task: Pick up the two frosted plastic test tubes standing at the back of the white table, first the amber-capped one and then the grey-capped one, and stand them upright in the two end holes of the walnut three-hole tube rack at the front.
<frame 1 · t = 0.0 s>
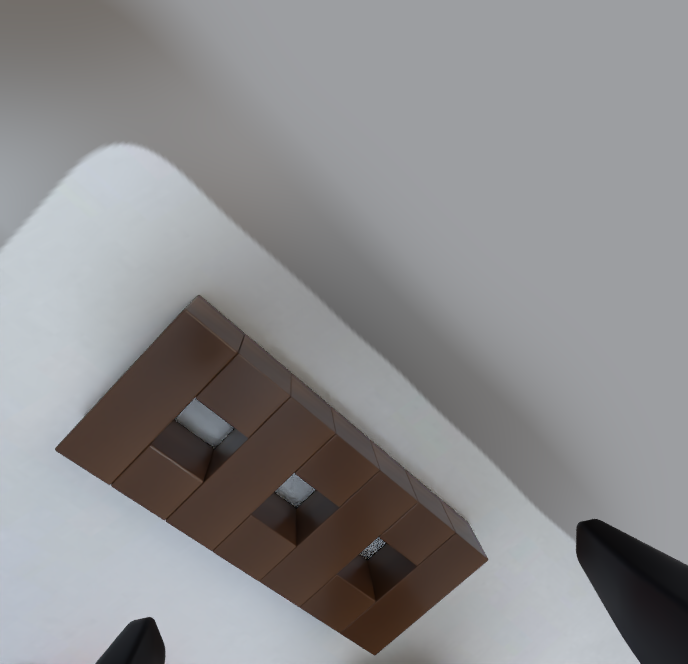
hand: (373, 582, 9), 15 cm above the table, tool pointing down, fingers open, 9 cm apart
rack: (295, 475, 25), on the table
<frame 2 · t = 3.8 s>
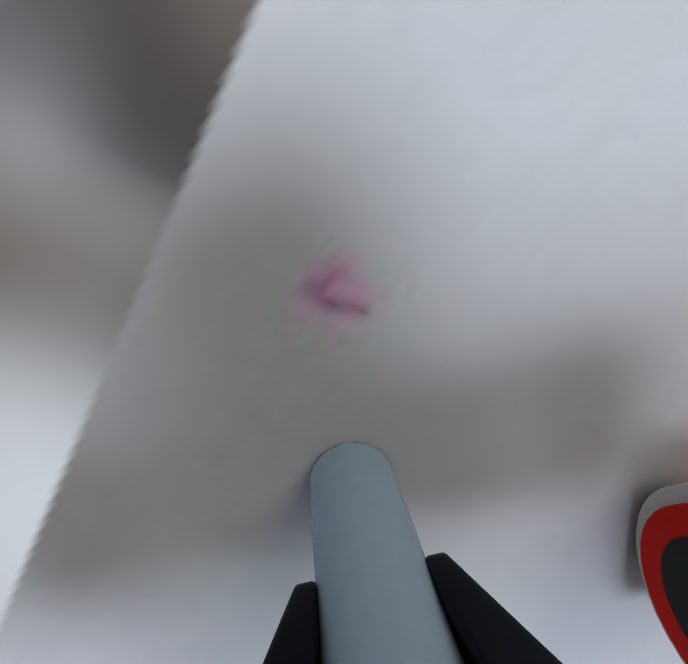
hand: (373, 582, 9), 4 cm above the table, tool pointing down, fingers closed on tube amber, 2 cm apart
tube amber: (351, 478, 12), on the table, touching gripper
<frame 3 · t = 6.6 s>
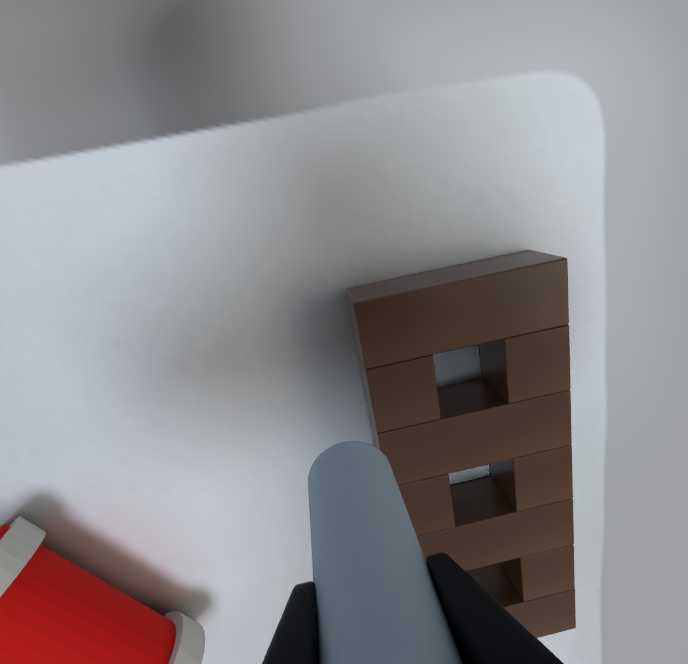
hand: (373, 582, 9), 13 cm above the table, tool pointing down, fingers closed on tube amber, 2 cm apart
rack: (460, 458, 24), on the table
toy hammer: (36, 647, 25), on the table
tube amber: (350, 477, 12), point 9 cm above the table, touching gripper
when the fingers open (3 cm above the table, at t = 9.5 s): tube amber stays where it is, resting in rack.
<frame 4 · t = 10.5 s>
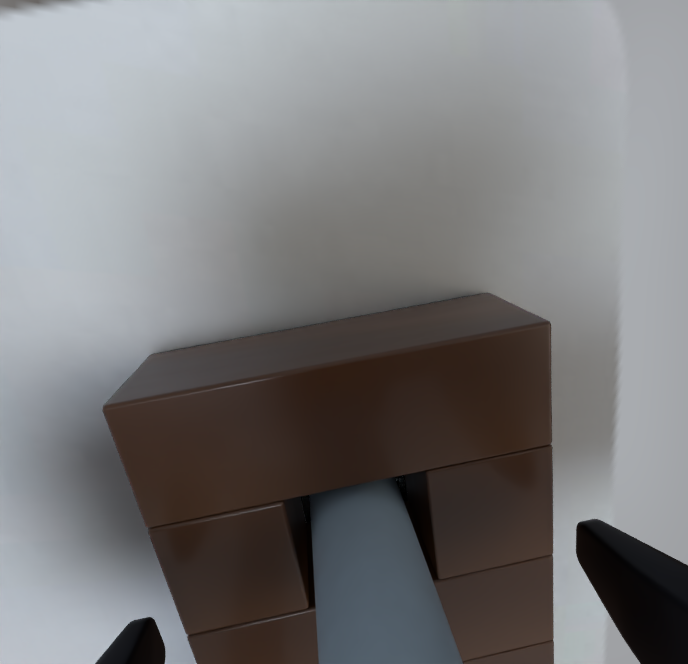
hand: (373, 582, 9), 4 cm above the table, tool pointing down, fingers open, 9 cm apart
rack: (376, 618, 15), on the table
tube amber: (348, 466, 13), resting in rack
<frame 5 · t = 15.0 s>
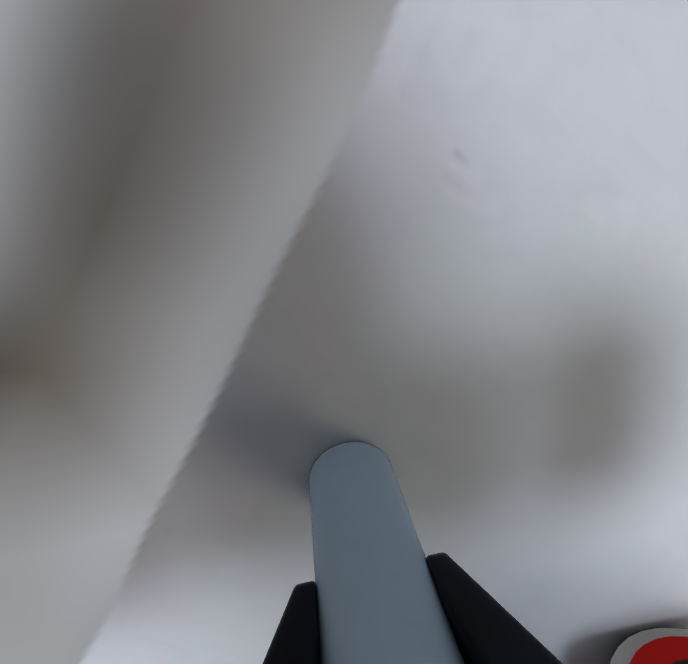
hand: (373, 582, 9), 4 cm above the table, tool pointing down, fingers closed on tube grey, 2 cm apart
tube grey: (351, 477, 12), on the table, touching gripper
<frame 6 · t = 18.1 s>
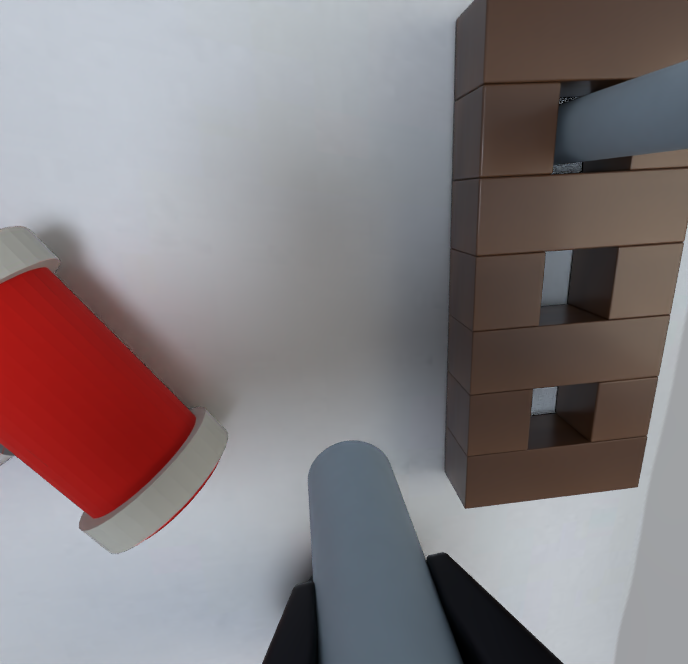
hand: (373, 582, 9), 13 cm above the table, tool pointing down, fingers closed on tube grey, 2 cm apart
rack: (539, 275, 21), on the table
tube grey: (350, 476, 12), point 9 cm above the table, touching gripper
toy hammer: (17, 436, 21), on the table
tube amber: (551, 137, 19), resting in rack
when the fingers open (3 cm above the table, at t = 21.3 s): tube grey stays where it is, resting in rack.
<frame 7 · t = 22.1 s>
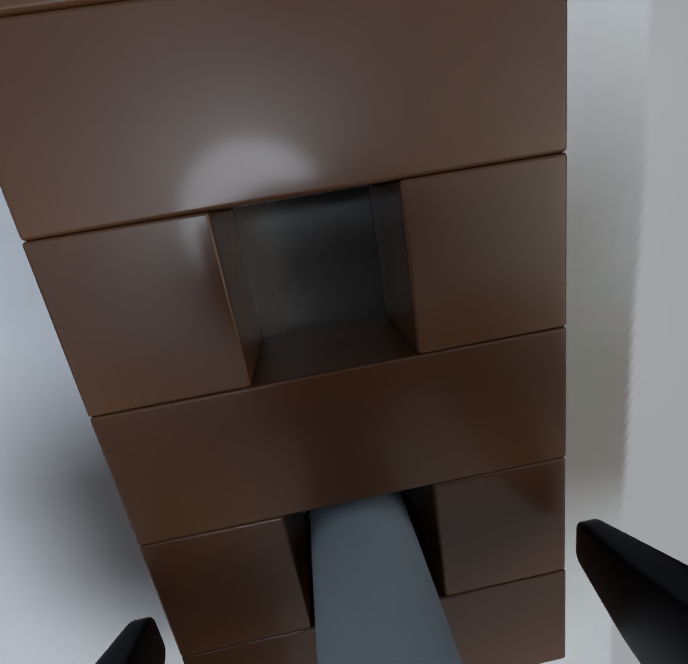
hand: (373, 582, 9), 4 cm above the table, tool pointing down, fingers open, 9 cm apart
rack: (313, 264, 10), on the table
tube grey: (349, 474, 12), resting in rack
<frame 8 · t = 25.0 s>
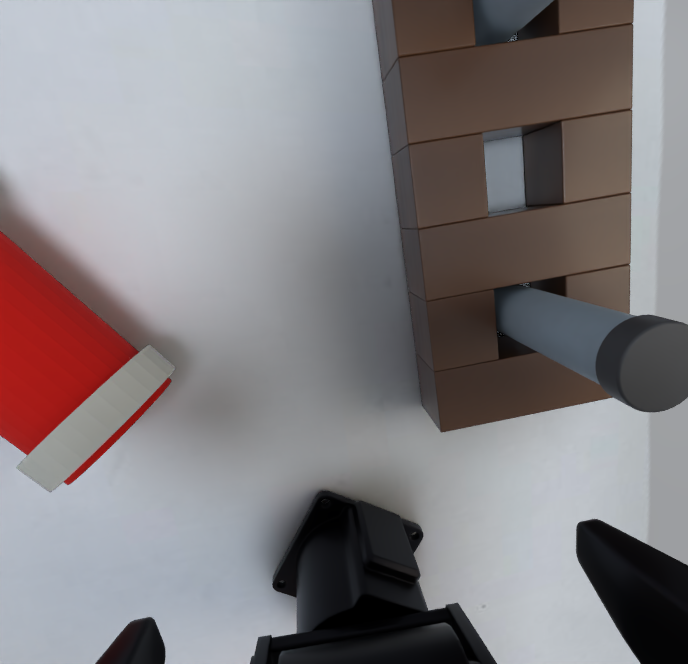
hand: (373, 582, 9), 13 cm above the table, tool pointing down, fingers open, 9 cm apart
rack: (491, 177, 20), on the table
tube grey: (499, 304, 22), resting in rack
tube amber: (480, 25, 18), resting in rack
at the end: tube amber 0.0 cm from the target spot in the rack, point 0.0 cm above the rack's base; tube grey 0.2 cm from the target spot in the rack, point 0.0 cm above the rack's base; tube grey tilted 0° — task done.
